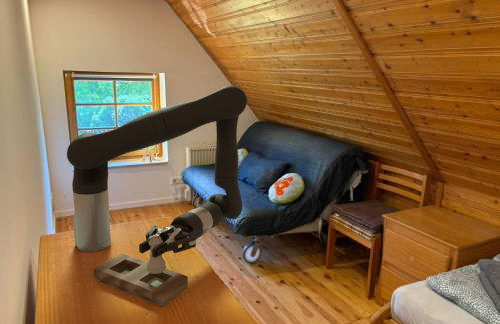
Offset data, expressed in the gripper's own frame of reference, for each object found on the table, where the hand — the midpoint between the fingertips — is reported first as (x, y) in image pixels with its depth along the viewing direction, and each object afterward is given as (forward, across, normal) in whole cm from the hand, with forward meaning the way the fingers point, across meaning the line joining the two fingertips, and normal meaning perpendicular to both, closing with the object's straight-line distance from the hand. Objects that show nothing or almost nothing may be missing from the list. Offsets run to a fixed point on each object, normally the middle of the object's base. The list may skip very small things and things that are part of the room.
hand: (147, 251), depth 83 cm
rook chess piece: (-3, 0, +6) cm, 7 cm away
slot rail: (-3, -5, +11) cm, 13 cm away
